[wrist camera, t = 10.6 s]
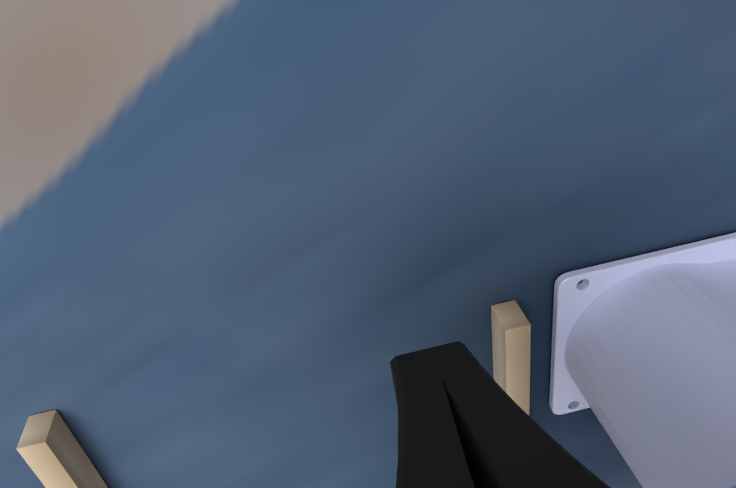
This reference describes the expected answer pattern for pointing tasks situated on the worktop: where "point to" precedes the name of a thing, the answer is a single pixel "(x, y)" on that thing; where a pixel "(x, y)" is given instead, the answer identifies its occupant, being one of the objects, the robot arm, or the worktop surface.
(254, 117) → the worktop surface
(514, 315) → the bay
